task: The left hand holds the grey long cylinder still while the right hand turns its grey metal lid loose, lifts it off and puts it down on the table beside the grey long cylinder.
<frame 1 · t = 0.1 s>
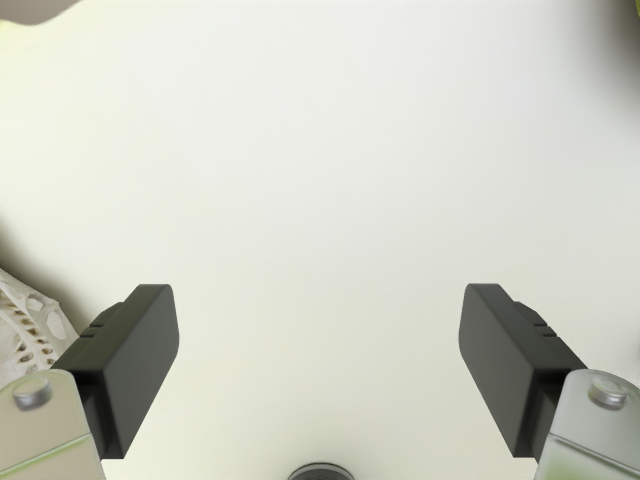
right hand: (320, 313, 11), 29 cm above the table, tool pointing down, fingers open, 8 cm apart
anatomical model: (19, 312, 45), on the table
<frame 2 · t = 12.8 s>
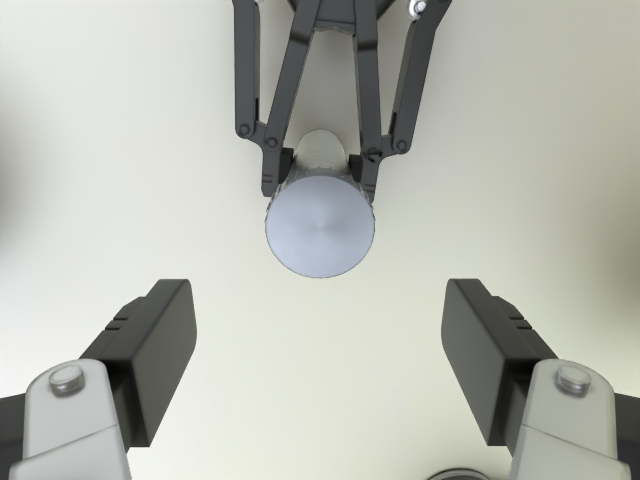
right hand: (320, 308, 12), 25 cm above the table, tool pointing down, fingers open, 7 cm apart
lid: (320, 226, 18), point 18 cm above the table, screwed on, not yet turned
grey long cylinder: (320, 153, 35), on the table, touching left hand
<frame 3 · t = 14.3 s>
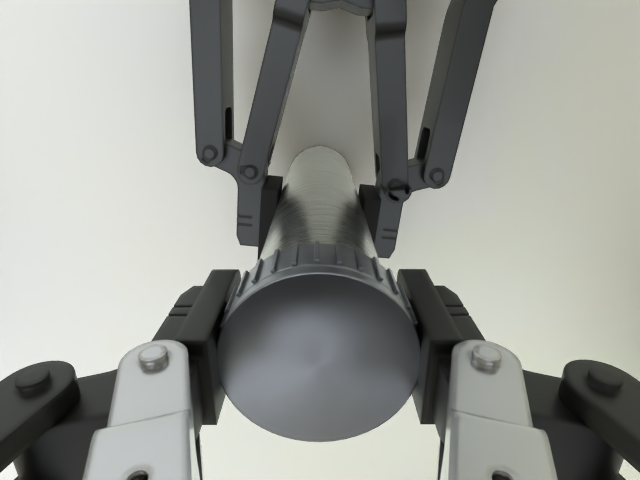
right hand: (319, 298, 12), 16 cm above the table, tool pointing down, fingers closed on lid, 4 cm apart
lid: (318, 355, 10), point 18 cm above the table, screwed on, not yet turned, touching right hand
grey long cylinder: (319, 177, 27), on the table, touching left hand
when the right hand's fingers open (16 cm above the table, at t = 15.9 s): lid stays where it is, point 19 cm above the table.
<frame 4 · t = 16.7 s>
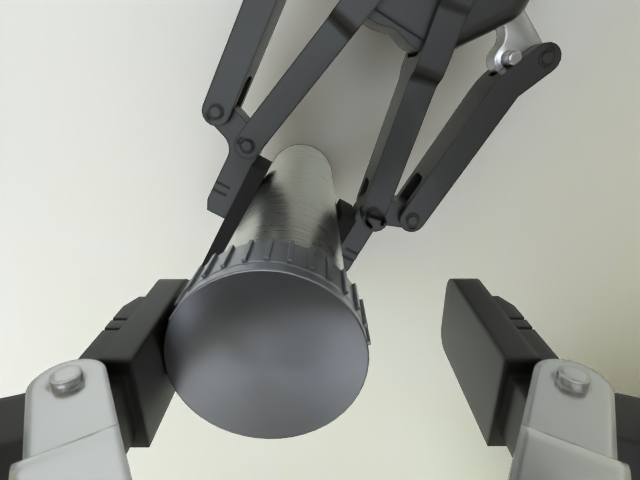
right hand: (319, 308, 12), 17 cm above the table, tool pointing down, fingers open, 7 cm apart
lid: (268, 352, 10), point 19 cm above the table, turned 81° so far, risen 0.2 cm, still on its thread
grey long cylinder: (301, 175, 27), on the table, touching left hand
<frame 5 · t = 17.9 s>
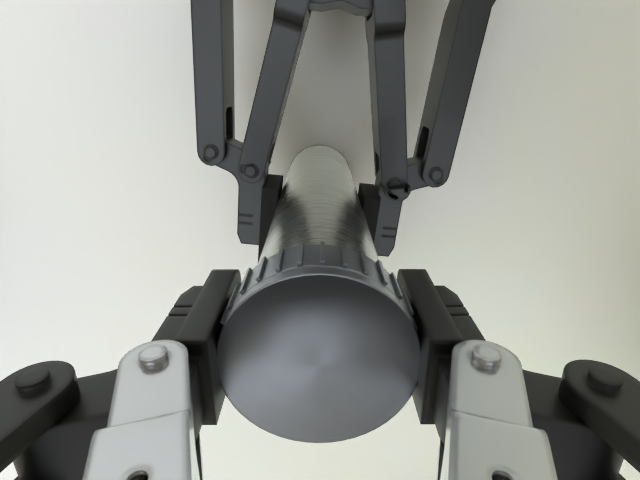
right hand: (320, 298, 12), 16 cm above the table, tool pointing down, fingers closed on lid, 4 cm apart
lid: (318, 356, 10), point 19 cm above the table, turned 81° so far, risen 0.2 cm, still on its thread, touching right hand
grey long cylinder: (319, 176, 27), on the table, touching left hand
when the right hand's fingers open (0 cm above the table, at t = 24.4 s): lid drops 2 cm, point 1 cm above the table.
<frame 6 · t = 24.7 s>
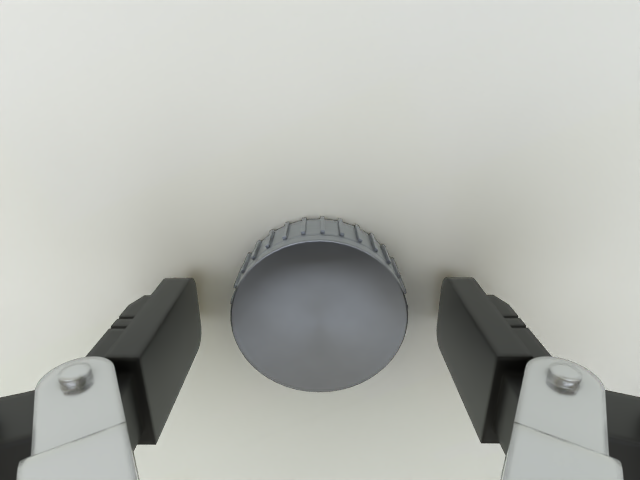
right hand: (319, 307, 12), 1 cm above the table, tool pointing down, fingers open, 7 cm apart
lid: (319, 315, 11), point 1 cm above the table, off its thread
when the left hand's fingers open (7 cm above the table, at t = 25.3 s): grey long cylinder stays where it is, on the table.
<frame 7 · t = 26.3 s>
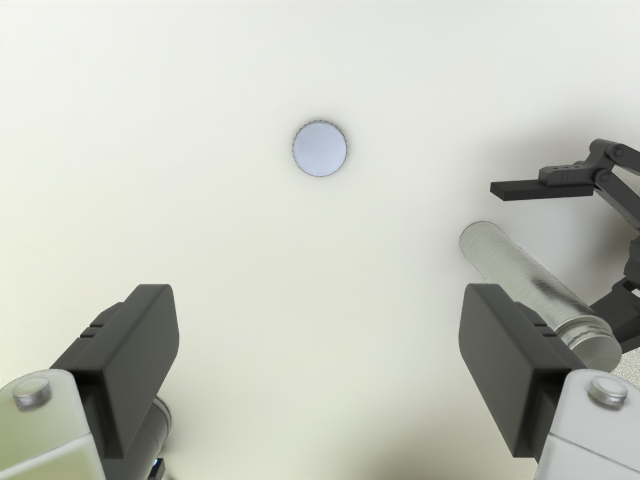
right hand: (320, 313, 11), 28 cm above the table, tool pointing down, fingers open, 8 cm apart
lid: (319, 149, 36), point 1 cm above the table, off its thread
grey long cylinder: (479, 240, 41), on the table
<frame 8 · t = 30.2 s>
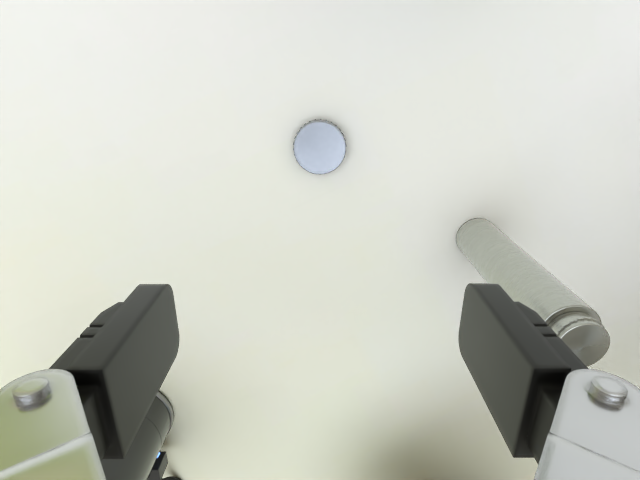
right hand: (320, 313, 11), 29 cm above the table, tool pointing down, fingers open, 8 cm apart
lid: (319, 148, 37), point 1 cm above the table, off its thread
grey long cylinder: (475, 236, 42), on the table
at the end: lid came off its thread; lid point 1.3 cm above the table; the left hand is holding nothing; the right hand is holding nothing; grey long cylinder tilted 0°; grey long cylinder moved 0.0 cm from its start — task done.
